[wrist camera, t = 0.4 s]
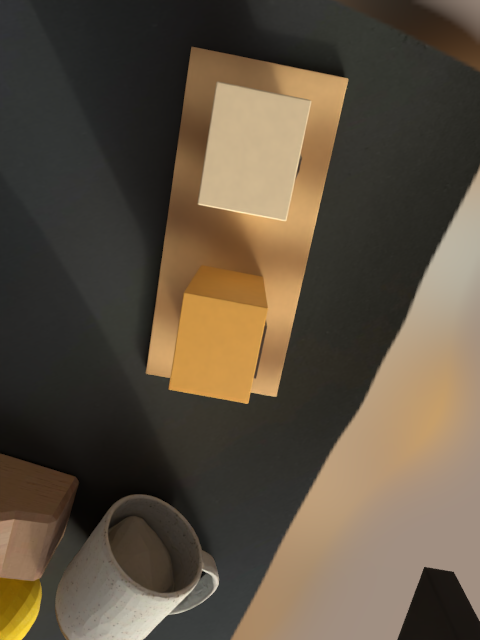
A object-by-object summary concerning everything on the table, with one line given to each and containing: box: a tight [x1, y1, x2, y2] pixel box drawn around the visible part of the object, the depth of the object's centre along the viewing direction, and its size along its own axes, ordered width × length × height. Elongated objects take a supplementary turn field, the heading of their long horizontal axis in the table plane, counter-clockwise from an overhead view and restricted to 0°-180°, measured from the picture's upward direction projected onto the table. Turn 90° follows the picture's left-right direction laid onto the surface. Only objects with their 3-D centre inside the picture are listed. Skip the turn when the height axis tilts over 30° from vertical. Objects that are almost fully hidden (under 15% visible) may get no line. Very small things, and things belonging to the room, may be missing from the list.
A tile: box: [198, 82, 311, 221], centre depth 23 cm, size 5×4×8 cm
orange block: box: [169, 265, 268, 403], centre depth 26 cm, size 5×4×8 cm
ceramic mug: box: [55, 494, 219, 640], centre depth 32 cm, size 11×8×8 cm
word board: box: [146, 47, 348, 397], centre depth 29 cm, size 20×9×1 cm, turn 169°
